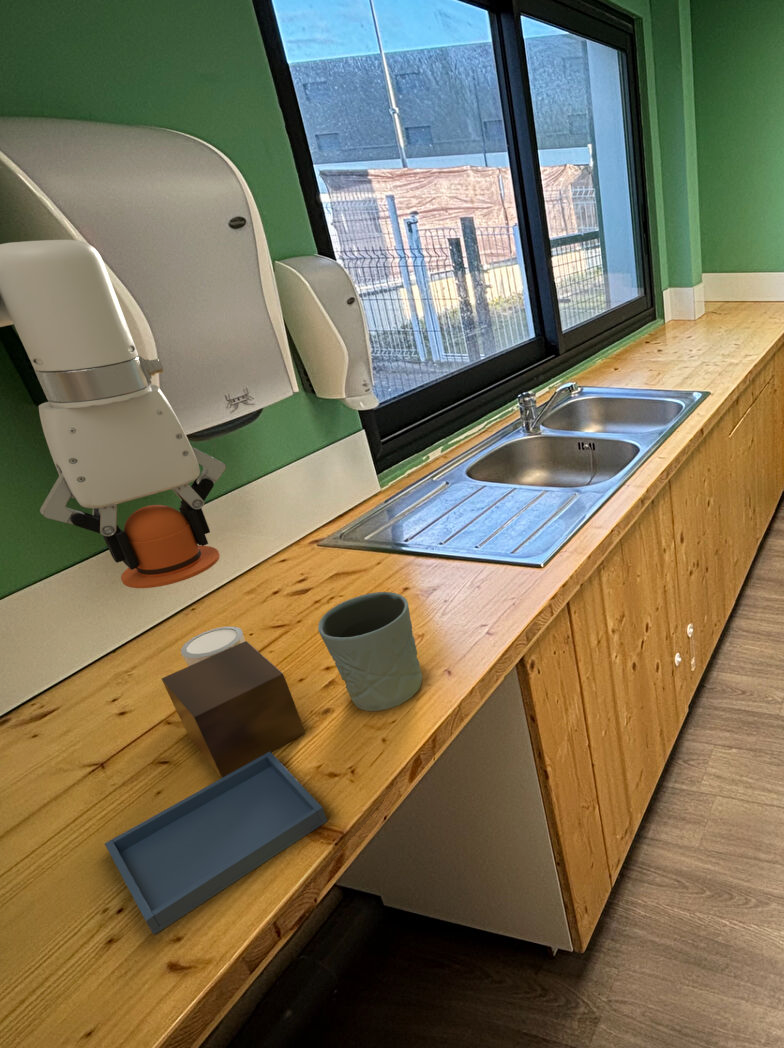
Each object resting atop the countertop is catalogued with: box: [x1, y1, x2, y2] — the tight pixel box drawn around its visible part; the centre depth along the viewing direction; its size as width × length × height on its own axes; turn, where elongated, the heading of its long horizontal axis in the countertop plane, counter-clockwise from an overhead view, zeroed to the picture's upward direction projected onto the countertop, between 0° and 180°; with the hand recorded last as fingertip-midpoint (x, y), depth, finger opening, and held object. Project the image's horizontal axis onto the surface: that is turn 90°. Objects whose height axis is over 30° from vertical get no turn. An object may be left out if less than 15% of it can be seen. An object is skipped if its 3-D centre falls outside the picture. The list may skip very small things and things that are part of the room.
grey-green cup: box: [317, 591, 423, 712], centre depth 89 cm, size 10×10×12 cm
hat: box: [120, 504, 221, 589], centre depth 72 cm, size 8×8×7 cm
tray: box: [104, 751, 329, 936], centre depth 71 cm, size 15×13×2 cm
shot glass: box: [180, 626, 246, 667], centre depth 92 cm, size 7×7×7 cm
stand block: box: [161, 640, 306, 779], centre depth 83 cm, size 9×11×9 cm
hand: (165, 551), depth 73 cm, fingers closed on hat, 5 cm apart
